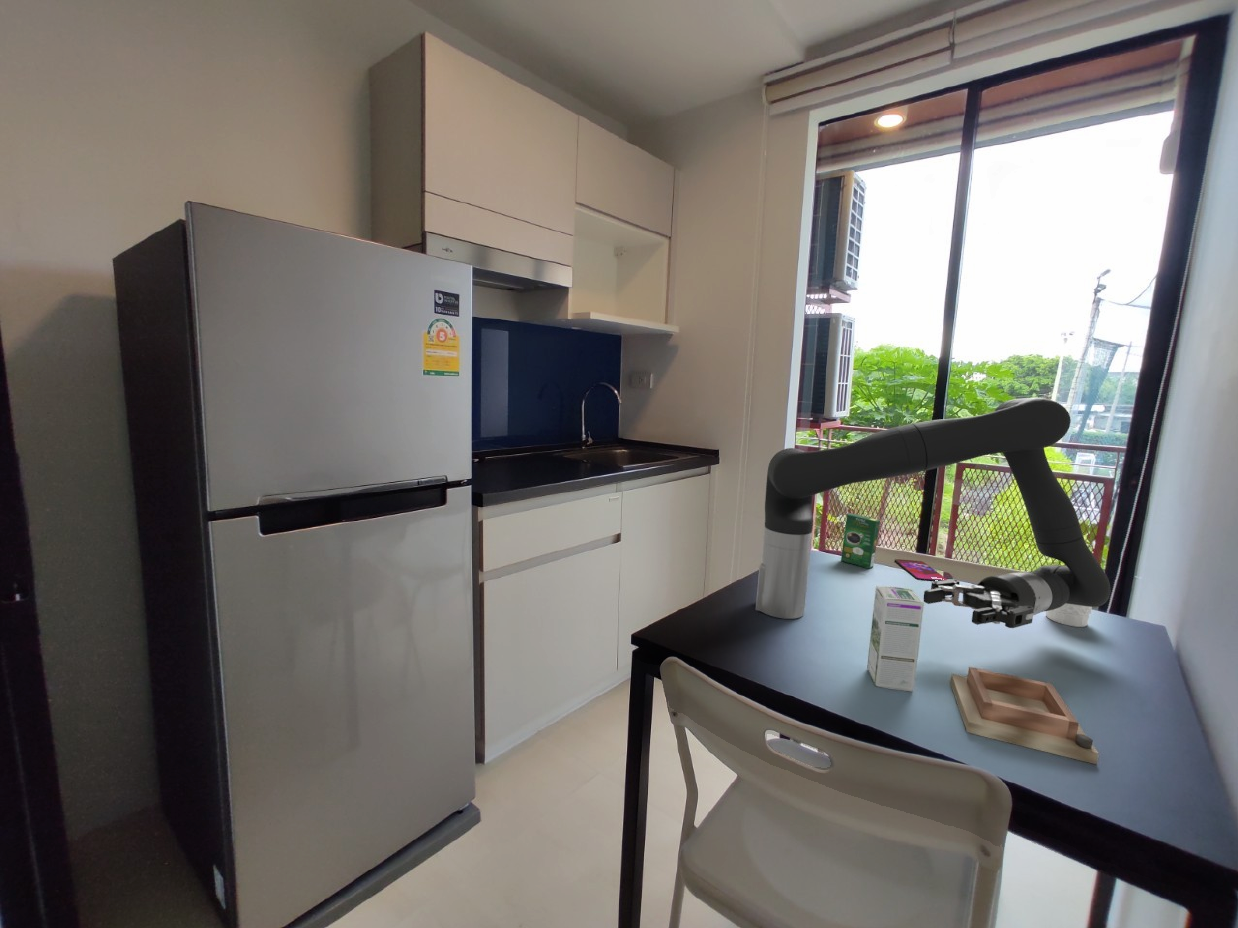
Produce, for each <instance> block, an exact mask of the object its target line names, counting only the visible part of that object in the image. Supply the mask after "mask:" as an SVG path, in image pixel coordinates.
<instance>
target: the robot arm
mask: <svg viewBox="0 0 1238 928" xmlns="http://www.w3.org/2000/svg"><path fill="white" fill-rule="evenodd" d="M1071 420H1072V419H1071V415H1070V413H1069V411H1068V410H1067V408H1065V407H1064V406H1063V404H1060V403H1059V402H1057V401H1055V400H1053V399H1052V400H1051V399H1050V398H1045V397H1026V398H1025V397H1024V398H1022V397H1021V398H1014V399H1009V400H1006V401H1003V402H1002V403H1001V404H999V405H998V406H997V407H996V409H994V411H991V412H988V413H984V414H980V415H975V416H968V417H954V418H943V419H933V420H927V421H919V422H913V423H909V424H904V425H898V426H895V427H894V426H893V427H891V428H887V429H884V430H880V431H877V432H875V433H872V434H870V435H867V436H865V437H863V438H861V439H858V440H856V441H854V442H851V443H849V444H846V445H842V446H838V447H833V448H828V449H827V448H825V449H820V450H812V451H805V450H802V449H799V448H795V447H793V448H792V447H788V448H784V449H781V450H780V451H779V450H778V452H776V453H775V454H774V455H773V456H772V457H771V459H770V462H769V463H768V467H767V475H766V484H765V486H766V487H765V501H764V528H763V529H764V530H763V540H762V541H763V542H762V553H761V560H760V561H761V562H760V564H759V567H758V577H757V578H758V579H757V589H756V601H755V611H758V612H762V613H763V614H765V615H768V616H771V617H774V618H779V619H785V620H787V619H788V620H789V619H790V620H793V619H799V618H801V617H803V616H804V614H805V607H806V597H807V588H808V586H807V585H808V578H809V570H810V569H809V568H810V557H811V549H812V548H811V547H812V538H813V537H812V536H813V527H814V515H813V496H815V495H818V494H821V493H823V492H826V491H831V490H832V489H834V490H835V489H836V488H840V487H843V486H846V485H847V486H848V485H851V484H856V483H864V482H871V481H878V480H883V479H888V478H894V477H895V478H896V477H901V476H905V475H911V474H916V473H921V472H925V471H926V472H927V471H930V470H934V469H938V468H942V467H946V466H947V467H948V466H950V465H954V464H958V463H962V462H965V461H969V460H972V459H974V458H975V459H976V458H980V457H983V456H988V455H995V454H1001V453H1002V454H1003V456H1004V458H1005V460H1006V463H1007V464H1008V466H1009V469H1010V472H1011V473H1012V475H1013V477H1014V480H1015V481H1016V485H1017V487H1018V489H1019V493H1020V494H1021V495H1020V496H1021V498H1022V500H1023V503H1024V506H1025V508H1026V509H1025V510H1026V512H1027V515H1028V519H1029V522H1030V526H1031V530H1032V534H1033V536H1034V541H1035V544H1036V547H1037V549H1038V551H1039V553H1040V554H1041V555H1043V556H1045V557H1047V558H1050V559H1054V560H1057V561H1060V562H1061V563H1063V564H1064V565H1063V564H1047V565H1041V566H1039V567H1038V568H1036V569H1035V570H1033V571H1032V570H1031V571H1026V572H1017V571H1016V572H1009V573H1003V574H997V575H990V576H987V577H985V578H983V579H982V580H981V581H979V582H978V583H977V584H971V585H963V584H960V582H961V581H960V580H959V579H956V578H955V579H954V578H952V579H947V580H943V581H931V585H930V586H931V587H930V589H926V590H924V591H923V603H924V604H928V605H931V604H936V603H941V602H945V603H952V604H953V606H956V607H963V608H971V609H972V610H973V611H972V616H971V623H973V624H974V625H976V626H977V625H985V624H990V623H992V624H995V625H1000V624H1001V623H1003V624H1004V626H1005V627H1006V628H1008V629H1015V628H1019V627H1023V626H1025V625H1029V624H1032V623H1033V619H1034V616H1035V615H1037V614H1041V613H1043V612H1046V611H1049V610H1054V609H1057V608H1059V607H1061V606H1063V605H1064V604H1065V603H1066V604H1073V605H1081V606H1088V607H1092V608H1096V607H1101V606H1103V605H1104V604H1106V603H1107V602H1108V601H1109V598H1110V596H1111V584H1110V583H1111V582H1110V580H1109V577H1108V575H1107V574H1106V573H1105V570H1104V568H1103V567H1102V566H1101V565H1100V563H1099V562H1098V560H1097V559H1096V557H1095V556H1094V554H1093V553H1092V551H1091V549H1090V547H1089V546H1088V545H1087V543H1086V541H1085V539H1084V534H1083V532H1082V527H1081V524H1080V520H1079V517H1078V515H1077V512H1076V511H1077V510H1076V509H1075V507H1074V505H1073V503H1072V501H1071V499H1070V497H1069V495H1068V493H1066V491H1065V490H1064V488H1063V487H1062V485H1061V484H1060V482H1059V480H1058V479H1057V477H1056V476H1055V474H1054V472H1053V470H1052V468H1051V466H1050V464H1049V462H1048V458H1047V456H1046V451H1045V448H1047V447H1050V446H1053V445H1054V444H1056V443H1058V442H1059V441H1060V440H1062V439H1063V438H1064V436H1066V434H1067V433H1068V431H1069V428H1070V427H1071V422H1072V421H1071ZM960 594H962V600H959V599H960ZM949 596H950V597H949Z"/></svg>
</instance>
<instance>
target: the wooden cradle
mask: <svg viewBox="0 0 1238 928" xmlns="http://www.w3.org/2000/svg"><path fill="white" fill-rule="evenodd" d="M949 683H950V686H951V689H952V692H953V695H954V699H955V701H956V704H957V706H958V710H959V713H960V715H961V718H962V721H963V723H964V727H965V730H966V732H967V733H969V734H972V735H975V736H981V737H985V738H988V739H993V740H997V741H1001V742H1005V743H1010V744H1013V745H1018V746H1021V747H1026V748H1029V749H1033V750H1037V751H1041V752H1045V753H1048V754H1053V755H1058V756H1061V757H1064V758H1070V759H1074V760H1077V761H1081V762H1086V763H1090V764H1094V765H1098V759H1099V754H1100V753H1099V752H1098V750H1097V749H1096V747H1095V745H1093V739H1092V738H1091V737H1090V736H1088V735H1087V734H1086V733H1085V731H1084V729H1083V728H1082V727H1081V725H1080V723H1079V721H1078V720H1077V719H1076V717H1075V715H1074V714H1073V713H1072V711H1071V710H1070V708H1069V707H1068V706H1067V704H1066V702H1065V701H1064V700H1063V698H1062V696H1061V695H1060V694H1059V693H1058V691H1057V689H1056V688H1055V687H1054V685H1053V683H1048V682H1043V681H1039V680H1035V679H1029V678H1024V677H1019V676H1016V675H1010V674H1007V673H1000V672H998V671H997V672H996V671H991V670H986V669H982V668H977V667H972V666H968V672H967V676H965V675H961V674H955V673H951V675H950V680H949Z"/></svg>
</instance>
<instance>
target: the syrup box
mask: <svg viewBox="0 0 1238 928" xmlns="http://www.w3.org/2000/svg"><path fill="white" fill-rule="evenodd" d="M873 602H874V603H873V610H872V619H871V620H872V621H871V628H870V638H869V647H868V648H869V649H868V656H867V657H868V658H867V665H866V667H867V668H866V669H867V671H868V674H869V675H870V678H871V679H872V681H873V684H874V685H875V686H876V687H879V688H883V689H889V690H896V691H897V690H898V691H905V692H914V689H915V681H916V674H917V668H918V667H917V666H918V660H919V649H920V640H921V631H922V622H923V613H924V606H925V602H924V601H922V599H921V598H920V597H919V596H918V595H917V594H916V593H915V592H914V590H913V589H909V588H903V587H898V586H883V585H882V586H879V585H876V587H875V593H874V599H873Z"/></svg>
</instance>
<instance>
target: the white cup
mask: <svg viewBox="0 0 1238 928" xmlns="http://www.w3.org/2000/svg"><path fill="white" fill-rule="evenodd" d="M1092 610H1093V607H1088V606H1081V605H1073V604H1066V603H1065V604H1064V605H1063V606H1061V607H1059V608H1057V609H1054V610H1049V611H1045V616H1046V617H1047V618H1048V619H1049V620H1051V621H1053V622H1056V623H1059V624H1062V625H1064V626H1070V627H1076V628H1084V627H1087V626H1088V622H1089V618H1090V615H1091V614H1092Z"/></svg>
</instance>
